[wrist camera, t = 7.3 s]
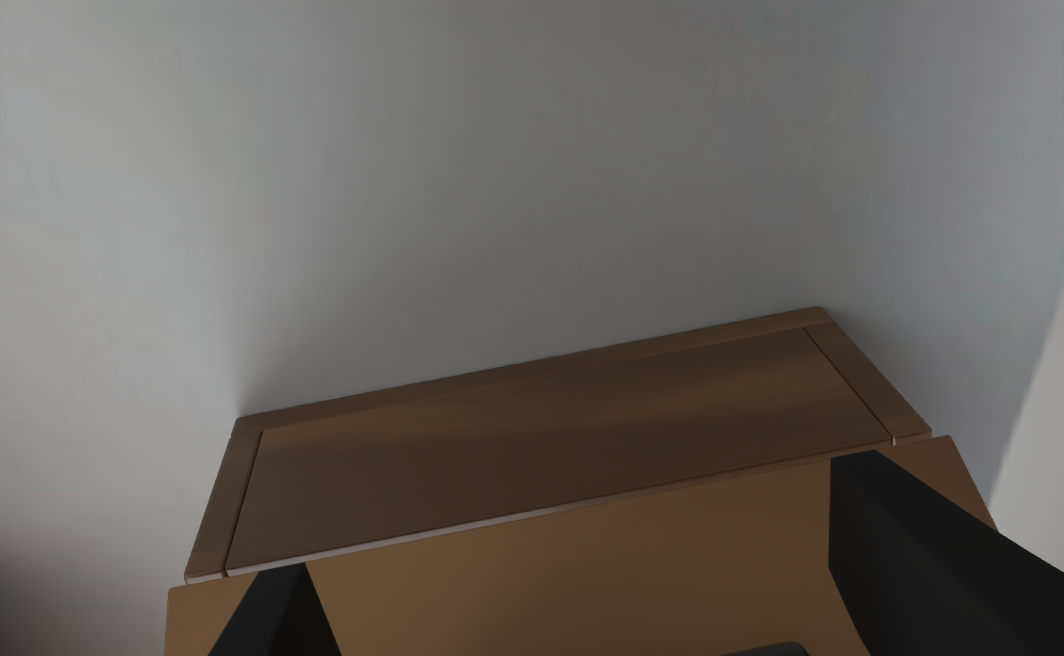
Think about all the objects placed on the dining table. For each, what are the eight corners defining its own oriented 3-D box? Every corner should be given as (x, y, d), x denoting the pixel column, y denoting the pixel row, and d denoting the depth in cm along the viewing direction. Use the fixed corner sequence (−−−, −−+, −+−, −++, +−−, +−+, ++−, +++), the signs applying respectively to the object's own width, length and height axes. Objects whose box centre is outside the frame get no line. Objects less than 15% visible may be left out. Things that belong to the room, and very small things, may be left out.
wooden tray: (815, 625, 27) (897, 786, 22) (356, 718, 26) (342, 901, 22) (820, 304, 21) (934, 428, 16) (235, 416, 21) (180, 576, 16)
